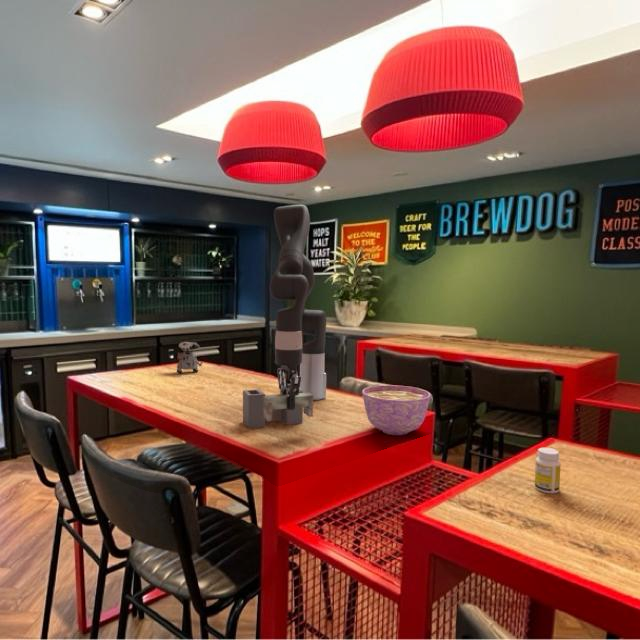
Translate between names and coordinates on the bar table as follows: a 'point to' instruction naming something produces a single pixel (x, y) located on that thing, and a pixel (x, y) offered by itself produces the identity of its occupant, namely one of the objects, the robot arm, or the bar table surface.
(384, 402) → the bowl of food
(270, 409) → the rail
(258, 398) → the grey hollow block
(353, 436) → the bar table surface
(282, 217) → the robot arm
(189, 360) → the figurine
